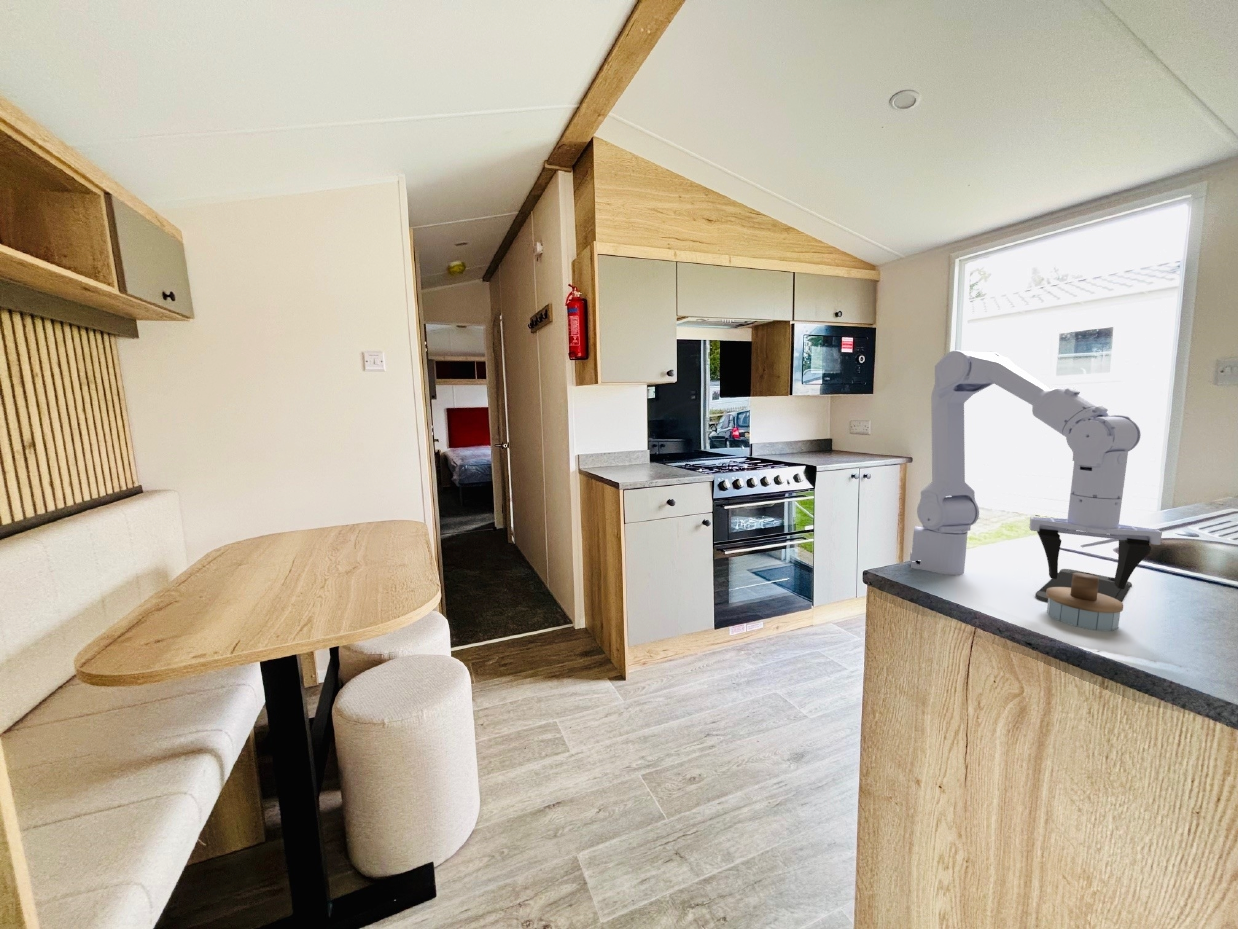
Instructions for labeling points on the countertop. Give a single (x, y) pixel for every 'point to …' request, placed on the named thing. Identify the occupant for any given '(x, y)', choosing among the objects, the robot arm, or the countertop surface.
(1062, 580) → the gaming console
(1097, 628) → the bowl
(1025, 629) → the countertop surface
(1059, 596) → the lid
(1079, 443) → the robot arm
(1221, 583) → the countertop surface
